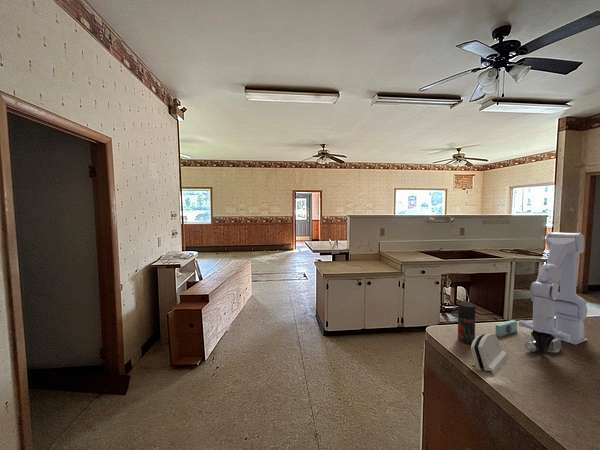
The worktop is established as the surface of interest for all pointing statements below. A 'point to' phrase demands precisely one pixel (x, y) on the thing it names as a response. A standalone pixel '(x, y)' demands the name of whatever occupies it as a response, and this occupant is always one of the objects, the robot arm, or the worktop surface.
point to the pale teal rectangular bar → (506, 328)
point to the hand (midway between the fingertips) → (542, 352)
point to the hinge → (488, 353)
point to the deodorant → (466, 322)
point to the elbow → (553, 346)
